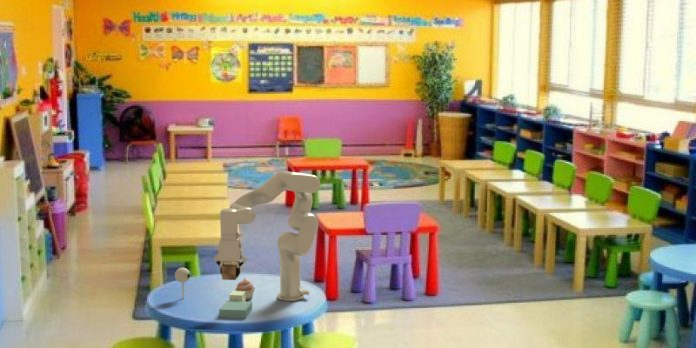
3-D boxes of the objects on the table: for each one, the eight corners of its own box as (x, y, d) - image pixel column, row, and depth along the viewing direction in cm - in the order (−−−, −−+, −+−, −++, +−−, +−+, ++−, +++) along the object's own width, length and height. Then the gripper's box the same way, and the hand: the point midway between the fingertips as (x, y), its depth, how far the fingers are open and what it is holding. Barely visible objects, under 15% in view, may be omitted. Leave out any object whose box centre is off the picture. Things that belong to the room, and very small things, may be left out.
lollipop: (186, 301, 414) (185, 270, 412) (172, 299, 417) (171, 269, 414) (193, 297, 421) (192, 266, 418) (180, 295, 423) (179, 265, 421)
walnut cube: (238, 276, 399) (238, 263, 398) (235, 279, 393) (234, 266, 392) (225, 275, 400) (225, 262, 399) (222, 279, 394) (221, 266, 393)
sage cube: (245, 303, 411) (245, 291, 410) (242, 308, 405) (242, 295, 404) (232, 303, 412) (232, 291, 411) (229, 307, 406) (229, 294, 405)
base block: (252, 310, 403) (252, 302, 402) (246, 319, 391) (245, 310, 390) (226, 309, 404) (226, 301, 404) (219, 318, 393) (219, 309, 392)
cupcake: (238, 294, 425) (238, 274, 423) (257, 295, 423) (257, 275, 421) (232, 300, 416) (232, 280, 414) (252, 301, 414) (251, 281, 412)
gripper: (250, 234, 395) (251, 273, 399) (212, 233, 398) (214, 272, 401) (246, 239, 388) (247, 278, 391) (208, 237, 390) (209, 277, 394)
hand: (230, 275), depth 396 cm, fingers closed on walnut cube, 6 cm apart
